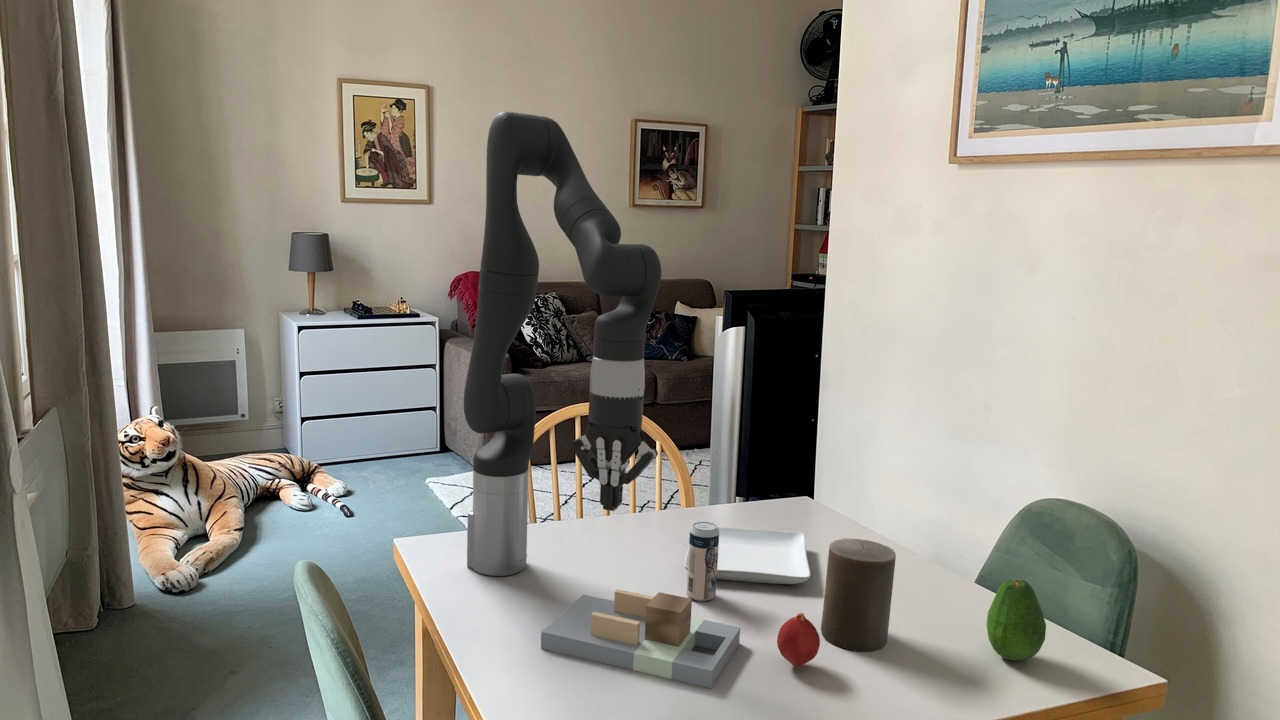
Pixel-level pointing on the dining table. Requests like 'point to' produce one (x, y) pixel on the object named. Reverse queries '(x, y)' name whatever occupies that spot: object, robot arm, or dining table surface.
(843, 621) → the pillar candle
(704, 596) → the beer can
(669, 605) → the block
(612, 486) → the robot arm
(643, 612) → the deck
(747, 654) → the dining table surface
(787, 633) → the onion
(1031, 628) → the avocado
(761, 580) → the salad plate
